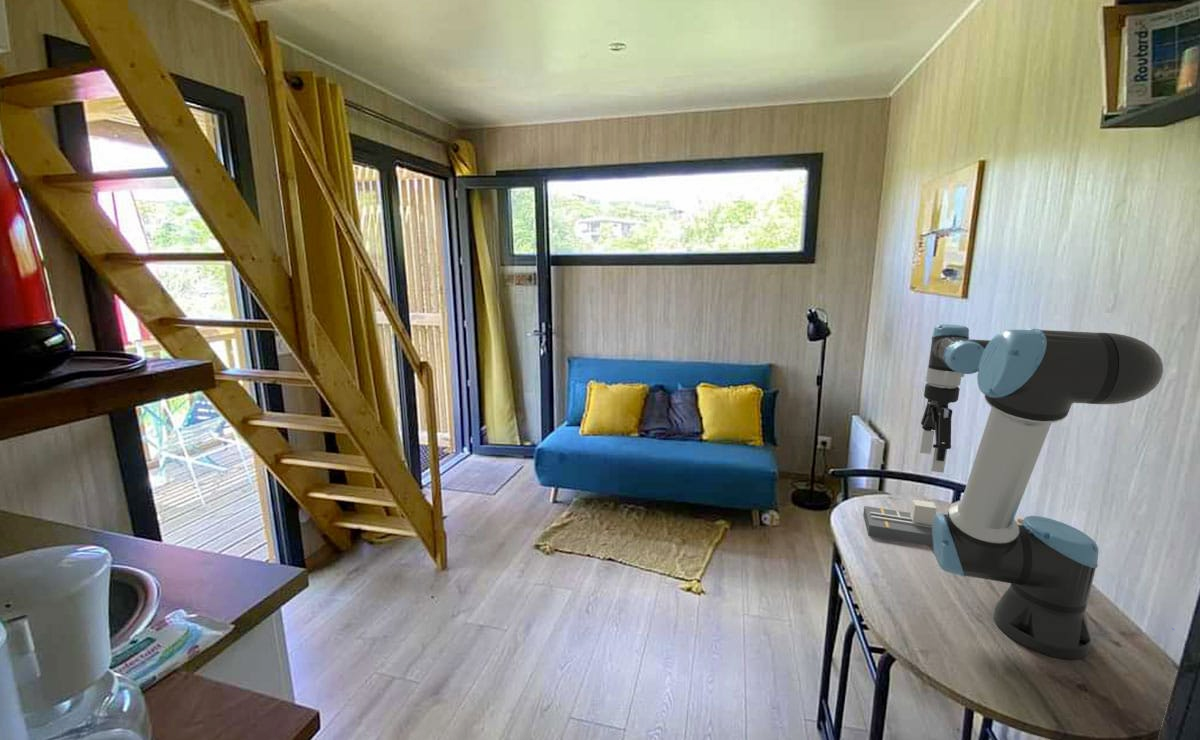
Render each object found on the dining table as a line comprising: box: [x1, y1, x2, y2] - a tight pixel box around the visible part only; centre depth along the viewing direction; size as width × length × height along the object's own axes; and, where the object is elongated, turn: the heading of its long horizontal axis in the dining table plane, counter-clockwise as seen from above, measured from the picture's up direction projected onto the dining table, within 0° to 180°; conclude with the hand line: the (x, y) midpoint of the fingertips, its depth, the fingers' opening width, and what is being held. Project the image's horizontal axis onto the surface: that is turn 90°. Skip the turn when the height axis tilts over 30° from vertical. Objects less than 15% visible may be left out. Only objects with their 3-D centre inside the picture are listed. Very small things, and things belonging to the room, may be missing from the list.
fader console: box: [862, 505, 934, 547], centre depth 147 cm, size 12×17×4 cm
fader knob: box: [910, 499, 938, 525], centre depth 144 cm, size 4×5×6 cm
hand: (930, 461), depth 141 cm, fingers open, 13 cm apart
